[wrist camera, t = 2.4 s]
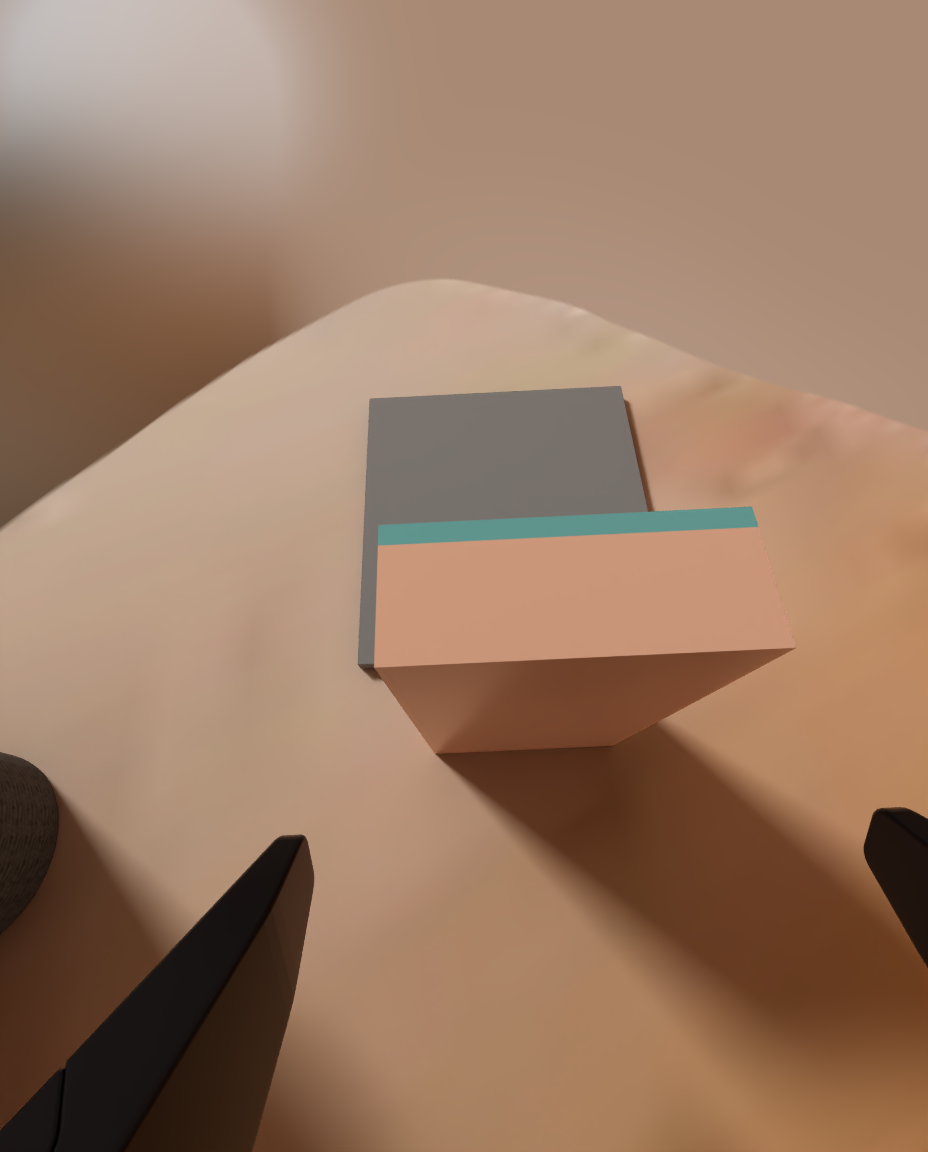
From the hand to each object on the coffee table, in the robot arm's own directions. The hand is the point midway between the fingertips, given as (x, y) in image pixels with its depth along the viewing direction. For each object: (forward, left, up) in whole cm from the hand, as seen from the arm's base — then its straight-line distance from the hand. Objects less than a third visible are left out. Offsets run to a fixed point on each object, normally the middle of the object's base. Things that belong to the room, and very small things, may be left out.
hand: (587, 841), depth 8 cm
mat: (+9, +8, -10) cm, 16 cm away
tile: (+3, +3, -10) cm, 11 cm away
